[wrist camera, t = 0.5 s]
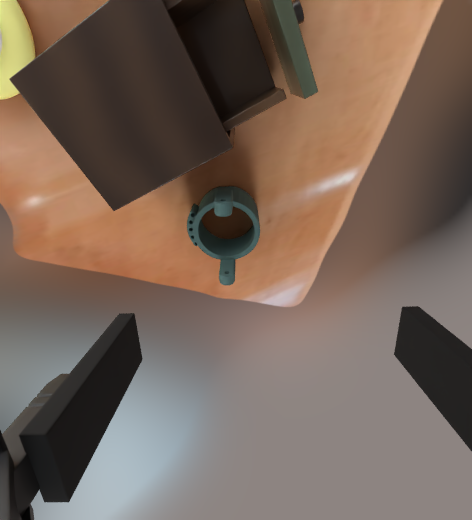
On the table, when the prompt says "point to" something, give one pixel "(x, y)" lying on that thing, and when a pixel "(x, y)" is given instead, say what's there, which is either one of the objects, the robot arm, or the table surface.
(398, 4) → the table surface
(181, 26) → the case drawer
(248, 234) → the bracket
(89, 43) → the case
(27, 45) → the emoji
